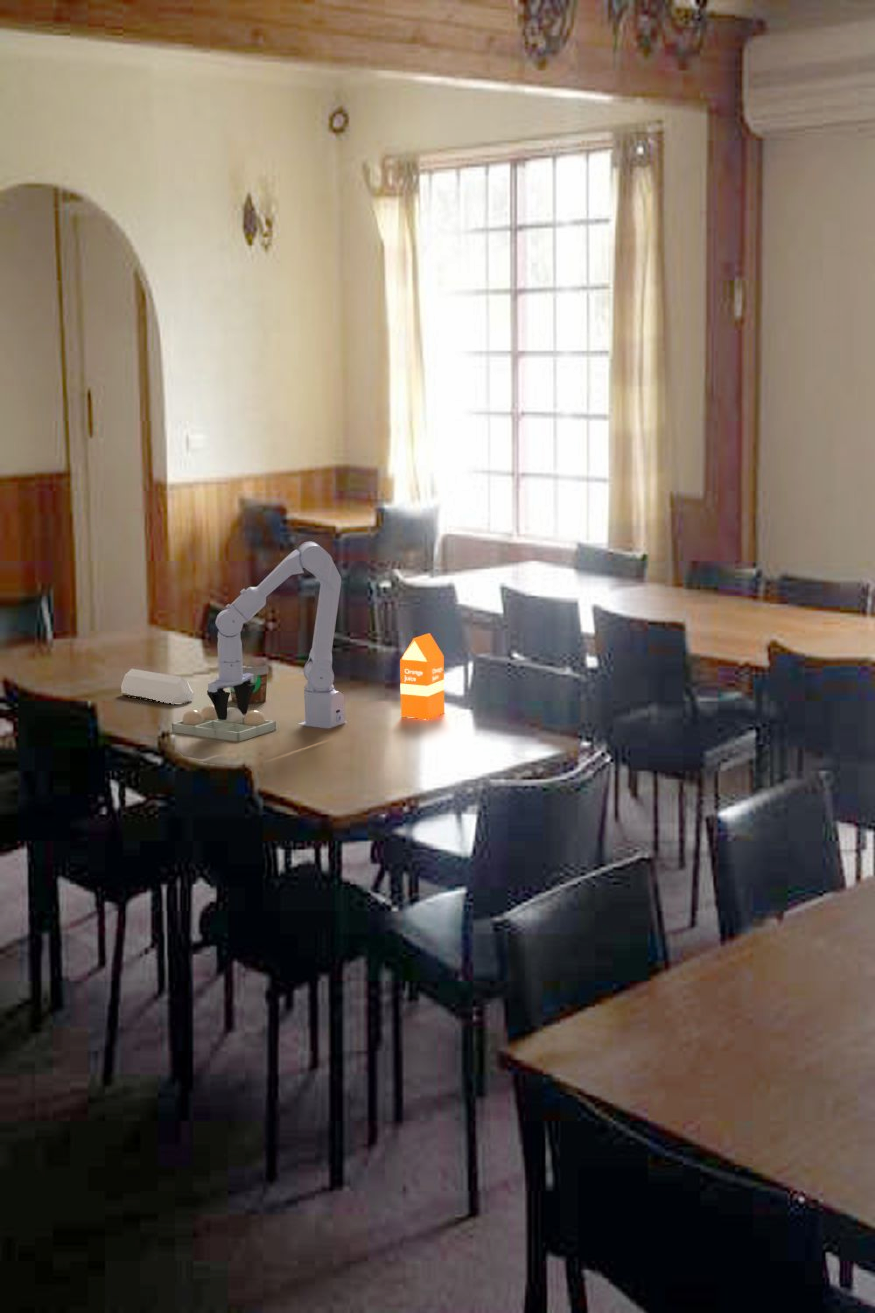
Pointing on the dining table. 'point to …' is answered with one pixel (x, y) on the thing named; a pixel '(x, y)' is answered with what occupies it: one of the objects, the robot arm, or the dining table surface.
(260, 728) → the egg tray
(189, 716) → the brown egg
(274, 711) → the dining table surface
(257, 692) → the food container
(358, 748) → the dining table surface
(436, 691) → the orange juice
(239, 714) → the white egg
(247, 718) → the brown egg
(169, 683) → the white trapezoid ingot
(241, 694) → the robot arm
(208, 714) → the brown egg
